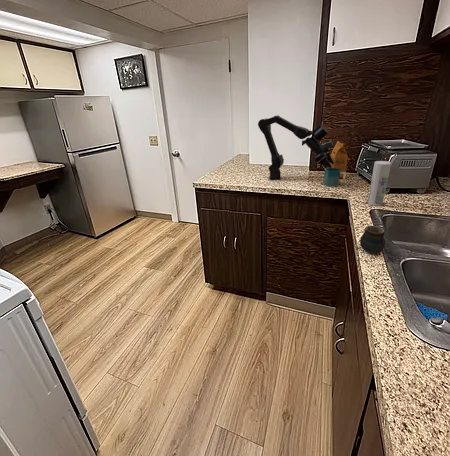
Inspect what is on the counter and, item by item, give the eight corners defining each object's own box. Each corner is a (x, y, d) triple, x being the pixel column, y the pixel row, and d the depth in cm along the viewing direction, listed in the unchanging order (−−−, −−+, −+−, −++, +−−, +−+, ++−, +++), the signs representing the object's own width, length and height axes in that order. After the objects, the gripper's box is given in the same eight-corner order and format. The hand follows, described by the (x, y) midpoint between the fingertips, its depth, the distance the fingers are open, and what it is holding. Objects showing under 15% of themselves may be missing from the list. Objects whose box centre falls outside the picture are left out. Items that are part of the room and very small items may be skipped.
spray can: (372, 199, 123) (380, 160, 115) (385, 204, 118) (394, 162, 110) (364, 202, 120) (371, 162, 113) (377, 207, 115) (385, 164, 107)
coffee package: (341, 173, 167) (345, 140, 159) (346, 178, 156) (351, 143, 147) (325, 173, 169) (329, 140, 160) (329, 178, 158) (333, 144, 149)
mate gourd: (387, 250, 83) (393, 224, 79) (376, 259, 79) (382, 231, 75) (365, 242, 88) (370, 216, 85) (354, 249, 84) (358, 223, 81)
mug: (324, 181, 153) (344, 183, 148) (322, 185, 147) (343, 187, 142) (325, 167, 150) (346, 168, 145) (324, 170, 143) (346, 172, 138)
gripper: (322, 138, 133) (342, 159, 132) (328, 133, 147) (346, 153, 146) (306, 152, 139) (325, 172, 138) (313, 146, 154) (330, 165, 153)
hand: (332, 165), depth 144 cm, fingers open, 9 cm apart
